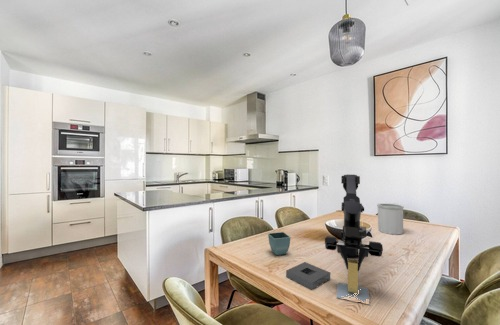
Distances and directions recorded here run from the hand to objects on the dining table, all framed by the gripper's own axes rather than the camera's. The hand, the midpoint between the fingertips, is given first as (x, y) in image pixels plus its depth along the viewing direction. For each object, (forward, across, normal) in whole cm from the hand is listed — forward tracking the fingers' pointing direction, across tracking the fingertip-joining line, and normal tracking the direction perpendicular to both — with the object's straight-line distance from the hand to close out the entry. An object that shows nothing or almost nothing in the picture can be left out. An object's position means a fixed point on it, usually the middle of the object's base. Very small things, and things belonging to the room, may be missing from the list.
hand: (352, 269), depth 77 cm
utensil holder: (-56, +24, +69) cm, 92 cm away
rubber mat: (+5, 0, +7) cm, 9 cm away
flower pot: (-12, -33, +25) cm, 43 cm away
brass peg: (+4, 0, +6) cm, 8 cm away
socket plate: (+2, -16, +11) cm, 19 cm away
